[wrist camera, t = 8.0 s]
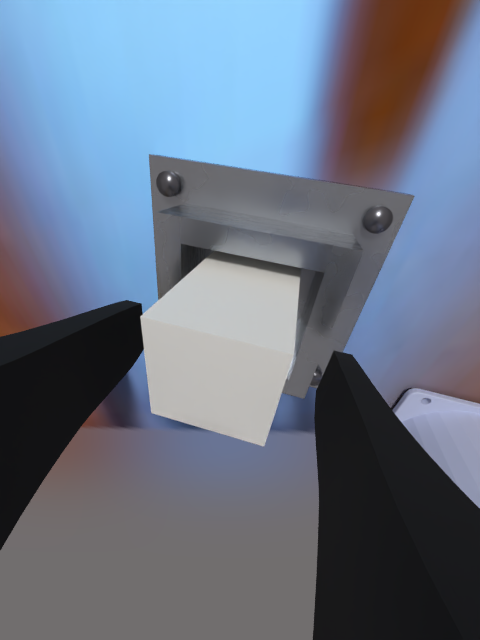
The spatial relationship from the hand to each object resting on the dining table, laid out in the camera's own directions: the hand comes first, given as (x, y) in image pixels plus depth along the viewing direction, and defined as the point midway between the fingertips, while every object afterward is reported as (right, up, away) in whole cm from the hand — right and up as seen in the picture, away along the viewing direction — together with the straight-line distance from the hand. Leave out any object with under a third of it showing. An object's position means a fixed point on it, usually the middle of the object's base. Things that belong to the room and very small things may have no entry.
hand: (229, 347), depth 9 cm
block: (+1, +3, +4) cm, 5 cm away
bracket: (+1, +3, +5) cm, 6 cm away
